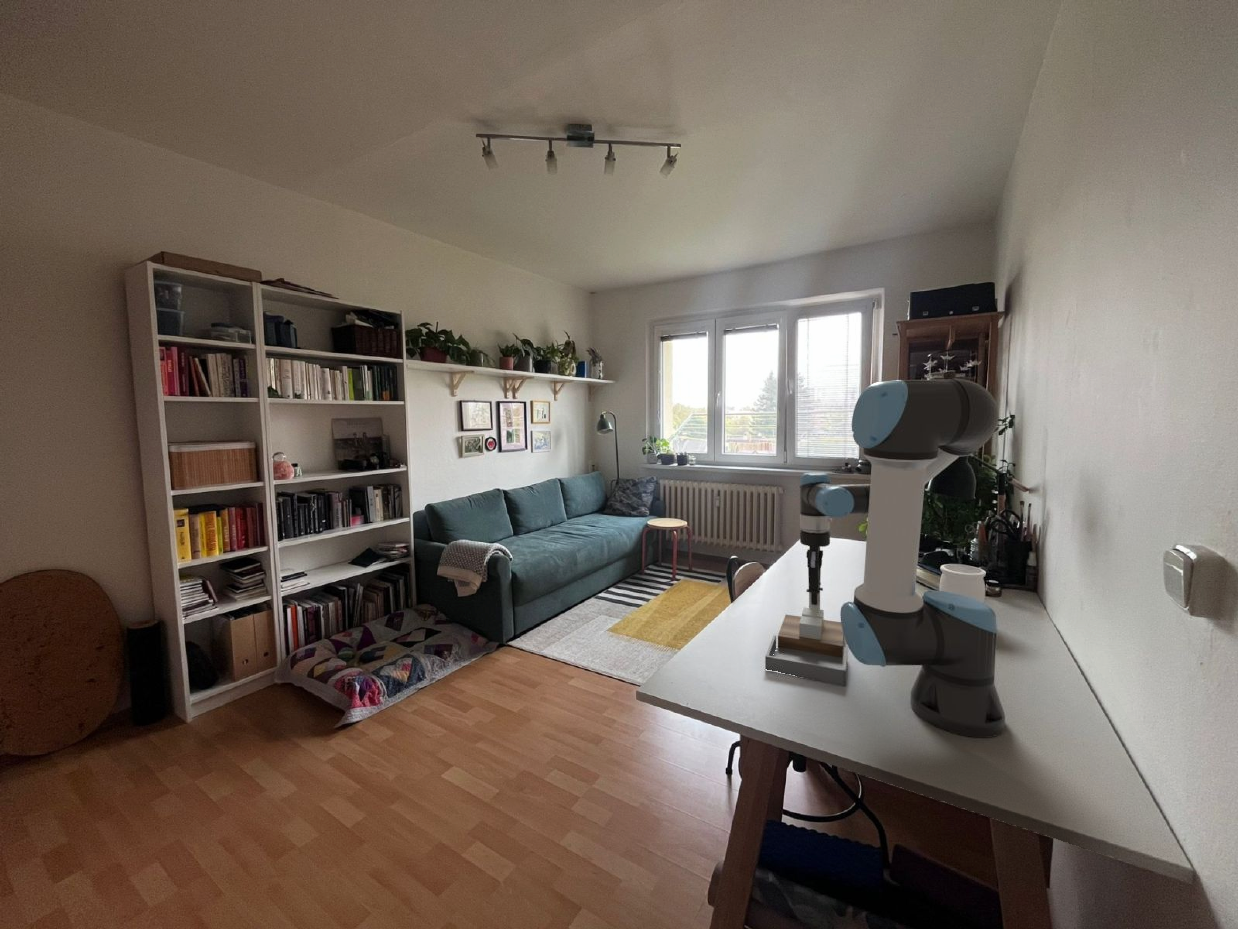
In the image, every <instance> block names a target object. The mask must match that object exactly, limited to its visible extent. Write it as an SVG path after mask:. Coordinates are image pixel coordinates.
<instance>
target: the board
mask: <svg viewBox="0 0 1238 929" xmlns="http://www.w3.org/2000/svg"><path fill="white" fill-rule="evenodd" d="M800 619H801V616H800V615H791V614H785V616H784V618H783V621H782V623H781V626H780V629H779V631H778V634H777V647H781V648H786V649H792V650H798V651H804V652H810V653H816V654H822V655H828V656H834V657H840V658H844V644H845V643H844V640H845V637H844V633H843V630H842V625H841V621H836V620H835V621H834V620H827V619H824V623H823V629H822V635H821V640H818V639H811V638H805V637H799V623H800Z"/></svg>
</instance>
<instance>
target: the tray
mask: <svg viewBox="0 0 1238 929" xmlns="http://www.w3.org/2000/svg"><path fill="white" fill-rule="evenodd" d="M776 647H778V646H777V634H773V636H772V638H771V641H770V643H769V646H768V648H767V651H766V653H765V656H764V658H765V660H764V662H765V663H764V664H765V669H767V670H772V671H778V672H781V673H785V674H791V675H795V676H797V678H800V677H803V678H802V679H805V678H808V679H807V680H811V679H813V680H812V681H817V682H821V681H822V682H821V683H827V684H832V685H837V684H838V686H843V687H846V686H847V671H848V668H847V666H848V664H847V663H848V646H845V645H843V658H840V657H834V656H828V655H822V654H816V653H810V652H804V651H798V650H792V649H786V648H781V647H778V648H776ZM775 650H777V651H775ZM773 654H774V655H773ZM785 674H784V675H785ZM795 676H794V677H795Z"/></svg>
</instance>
